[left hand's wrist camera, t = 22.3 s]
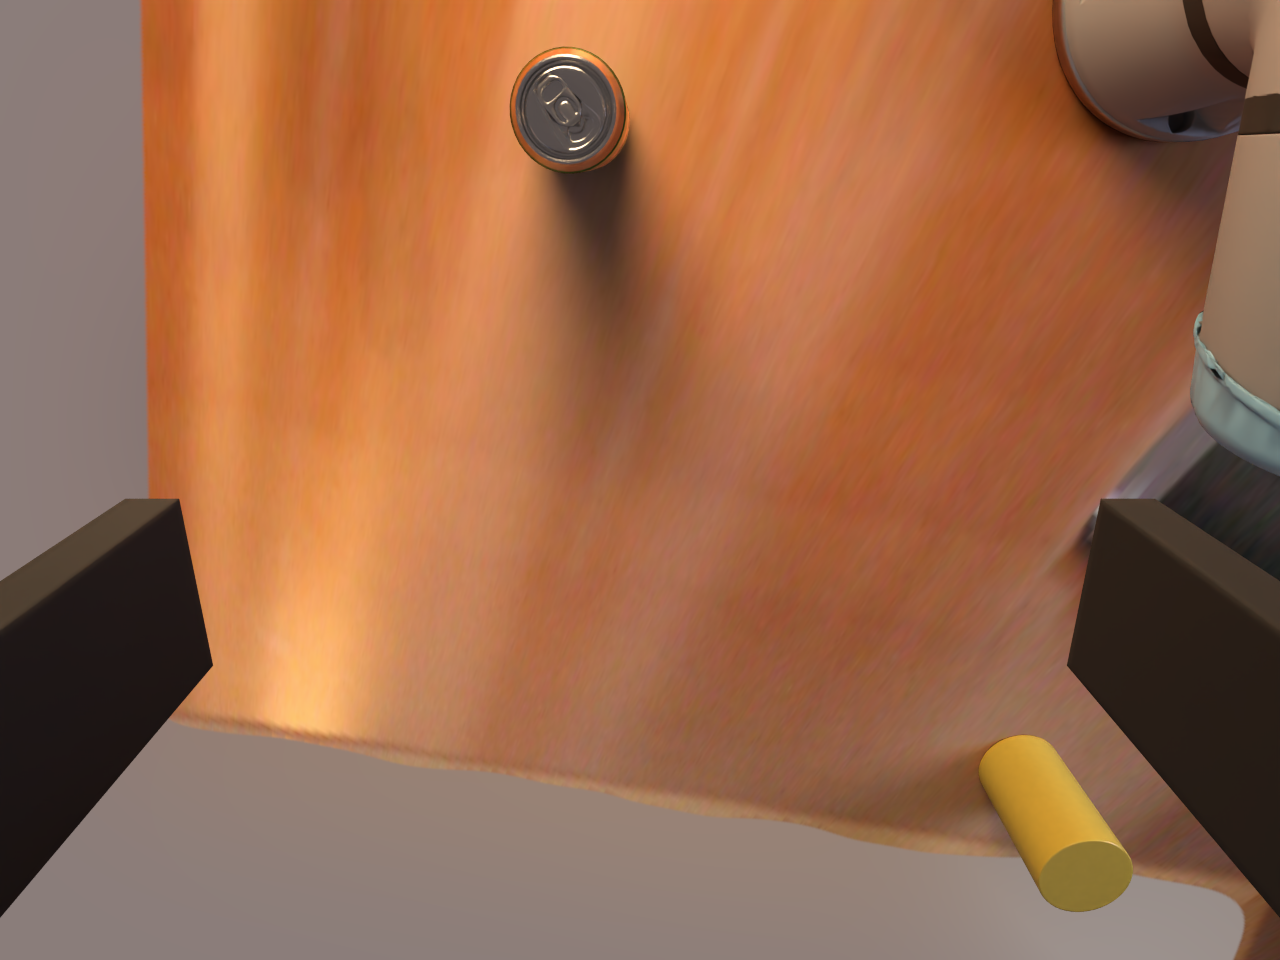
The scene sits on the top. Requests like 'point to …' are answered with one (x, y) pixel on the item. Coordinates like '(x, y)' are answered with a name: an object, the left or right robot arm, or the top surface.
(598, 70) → the soda can
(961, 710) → the top surface
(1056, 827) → the can
